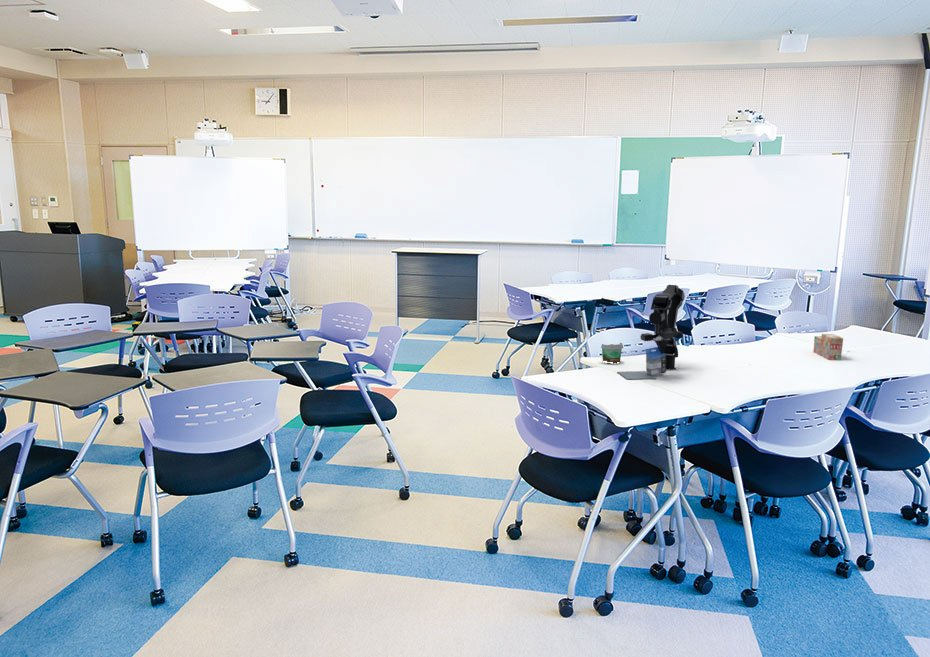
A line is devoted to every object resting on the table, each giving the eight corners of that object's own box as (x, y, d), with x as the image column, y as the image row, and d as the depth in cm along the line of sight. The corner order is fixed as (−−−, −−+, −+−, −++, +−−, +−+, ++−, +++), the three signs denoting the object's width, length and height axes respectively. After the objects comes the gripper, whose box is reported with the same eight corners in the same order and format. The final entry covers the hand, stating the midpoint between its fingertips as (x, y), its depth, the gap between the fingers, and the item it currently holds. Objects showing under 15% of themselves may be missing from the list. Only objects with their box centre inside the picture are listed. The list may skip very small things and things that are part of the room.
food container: (607, 365, 326) (608, 346, 325) (600, 363, 332) (601, 344, 330) (627, 363, 331) (628, 344, 329) (620, 361, 337) (621, 342, 335)
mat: (644, 372, 313) (644, 371, 313) (656, 379, 299) (656, 378, 299) (616, 372, 311) (616, 371, 311) (627, 379, 298) (627, 378, 298)
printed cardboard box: (812, 352, 362) (815, 330, 360) (824, 352, 362) (826, 330, 360) (828, 360, 342) (830, 337, 340) (841, 360, 341) (843, 337, 339)
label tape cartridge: (651, 376, 303) (650, 350, 300) (646, 374, 306) (645, 349, 304) (666, 372, 306) (666, 347, 304) (661, 371, 310) (660, 346, 307)
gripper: (649, 325, 293) (650, 358, 296) (688, 322, 295) (688, 355, 298) (639, 322, 304) (640, 354, 307) (677, 318, 306) (677, 351, 309)
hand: (661, 353), depth 305 cm, fingers closed, pressing on label tape cartridge
